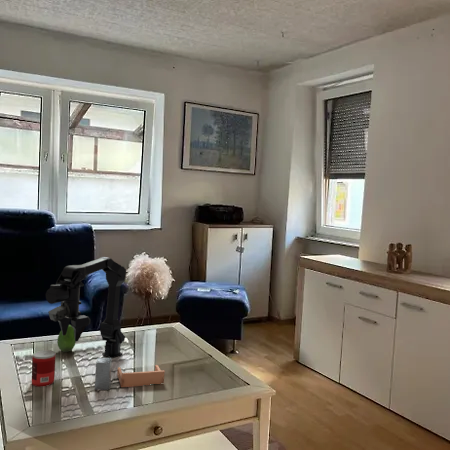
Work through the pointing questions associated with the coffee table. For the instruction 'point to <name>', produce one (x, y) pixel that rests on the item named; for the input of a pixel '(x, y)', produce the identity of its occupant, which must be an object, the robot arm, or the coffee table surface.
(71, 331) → the fruit
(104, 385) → the block
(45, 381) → the canned food
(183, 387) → the coffee table surface
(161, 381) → the coupler dock
